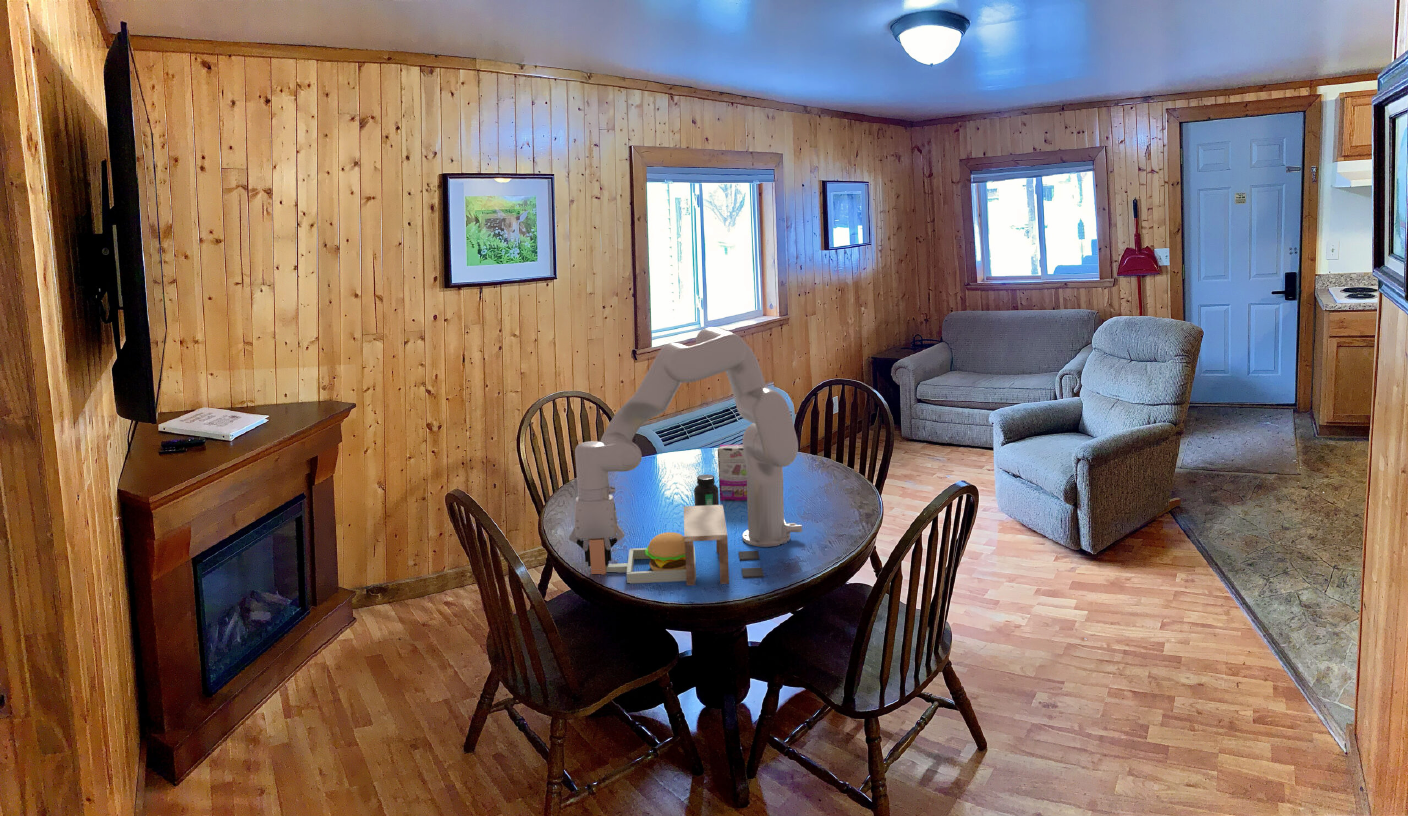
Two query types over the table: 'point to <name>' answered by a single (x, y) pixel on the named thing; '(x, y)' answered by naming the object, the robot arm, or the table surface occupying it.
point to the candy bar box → (732, 473)
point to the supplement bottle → (706, 491)
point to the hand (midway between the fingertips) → (598, 563)
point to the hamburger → (667, 552)
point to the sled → (631, 565)
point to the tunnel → (705, 537)
